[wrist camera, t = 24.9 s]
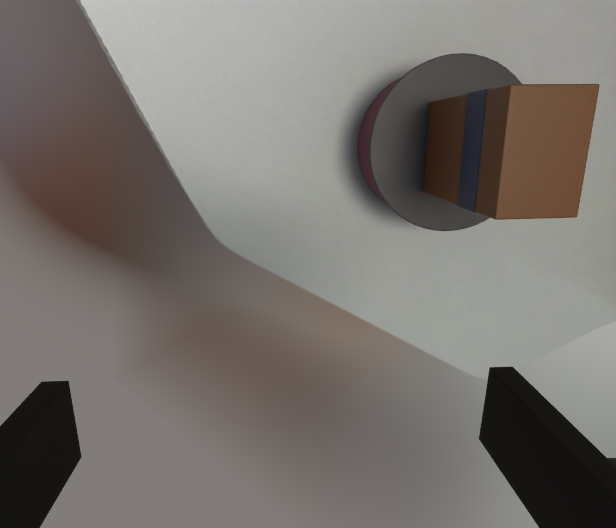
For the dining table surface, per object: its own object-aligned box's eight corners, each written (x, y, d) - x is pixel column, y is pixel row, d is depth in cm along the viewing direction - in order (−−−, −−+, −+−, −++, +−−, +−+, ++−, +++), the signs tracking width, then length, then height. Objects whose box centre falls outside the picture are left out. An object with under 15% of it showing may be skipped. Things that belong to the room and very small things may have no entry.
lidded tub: (392, 240, 40) (414, 259, 34) (328, 116, 36) (339, 112, 30) (515, 172, 39) (560, 179, 33) (461, 37, 35) (501, 17, 29)
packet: (480, 191, 33) (578, 218, 22) (422, 192, 32) (494, 221, 22) (489, 100, 31) (601, 82, 20) (428, 101, 30) (510, 83, 20)
